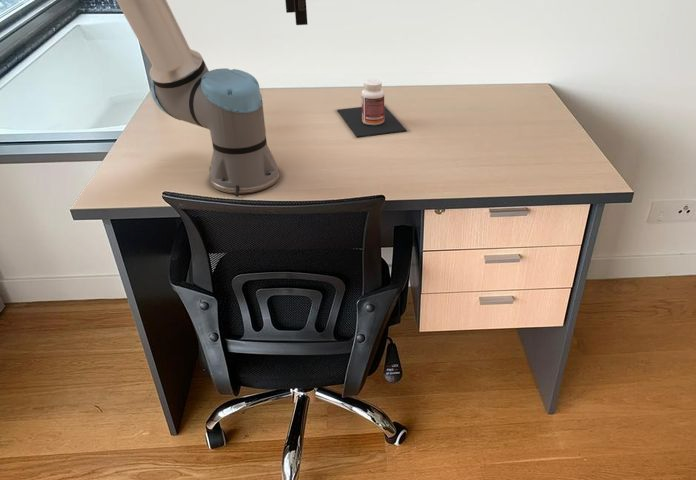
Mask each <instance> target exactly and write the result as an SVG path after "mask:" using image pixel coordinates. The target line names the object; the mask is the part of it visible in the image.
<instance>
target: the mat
mask: <svg viewBox="0 0 696 480" xmlns="http://www.w3.org/2000/svg"><path fill="white" fill-rule="evenodd" d="M337 112H338V114H339V116H340V117H341V118H342V119H343V120H344V122H345V123H346V125H347V126H348V127H349V129H350V130H351V132H352V133H353V134H354V136H355V137H356V138H363V137H364V138H365V137H372V136H380V135H387V134H395V133H405V132H407V131H408V130H407V129H406V127H404V126H403V124H402V123H401V122H400V121H399V120H398V119H397V118H396V116H394V114H393V113H392V112H391V110H389V109H388V108H387V107H386V106H385V105H384V122H383V123H382V124H380V125H367V124H364V123H363V121H362V106H359V107H358V106H357V107H349V108H338V109H337Z"/></svg>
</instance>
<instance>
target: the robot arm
mask: <svg viewBox="0 0 696 480" xmlns="http://www.w3.org/2000/svg"><path fill="white" fill-rule="evenodd" d="M115 1H116V3H117V5H118V6H119V9H121V12H122V13H123V15H124V17H125V19H126V22H127V23H128V24H129V26H130V28H131V30H132V31H133V33H134V36H135V37H136V39H137V40H138V42H139V44H140V46H141V47H142V50H143V51H144V53H145V55H146V56H147V59H148V60H149V62H150V64H151V67H150V69H149V76H150V82H151V87H150V93H151V97H152V99H153V102H154V103H155V105H156V106H157V107H158V109H159V110H161V111H162V112H163V113H165V114H166V115H168V116H170V117H172V118H174V119H175V120H178V121H182V122H185V123H189V124H192V125H195V126H198V127H201V128H204V129H207V130H209V133H210V138H211V144H212V149H213V150H212V156H211V162H210V166H209V171H208V172H209V180H210V184H211V186H212V187H213V188H214V189H216V190H217V191H219V192H222V193H226V194H232V195H233V194H234V196H235V197H239V195H243V194H253V193H257V192H261V191H264V190H267V189H269V188H270V187H272V186H273V185H275V184H276V183H277V182H278V180H279V177H280V172H279V167H278V165H277V162H276V160H275V157H274V156H273V154H272V152H271V150H270V147H269V146H268V142H267V141H268V140H267V132H266V123H265V114H264V104H263V95H262V93H261V89H260V84H259V81H258V80H257V79H256V77H255V76H254V75H252V74H251V73H249V72H246V71H244V70H241V69H236V68H233V69H229V68H224V67H223V68H214V69H211V70H209V69H208V67H207V64H206V62H205V60H204V58H203V56H202V54H201V53H200V52H199V51H197V50H194V49H191V47H190V46H189V43H188V42H187V40H186V37H185V35H184V33H183V31H182V29H181V28H180V25H179V23H178V21H177V19H176V16H175V15H174V13H173V11H172V9H171V6H170V5H169V3H168V1H167V0H115ZM284 1H285V10H286V11H285V12H286V13H287V14H288V13H289V14H290V13H291V14H293V13H294V17H295V25H296V26H305V25H306V26H307V25H308V11H307V10H308V9H307V0H284Z"/></svg>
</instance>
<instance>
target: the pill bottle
mask: <svg viewBox="0 0 696 480" xmlns="http://www.w3.org/2000/svg"><path fill="white" fill-rule="evenodd" d="M382 86H383V85H382V81H381V80H379V79H366V80H364V81H363V87H364V88H363V90H362V91H361V107H362V121H363V123H364V124H367V125H380V124H382V123H383V122H384V106H385V91H384V90H383V89H382Z"/></svg>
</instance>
